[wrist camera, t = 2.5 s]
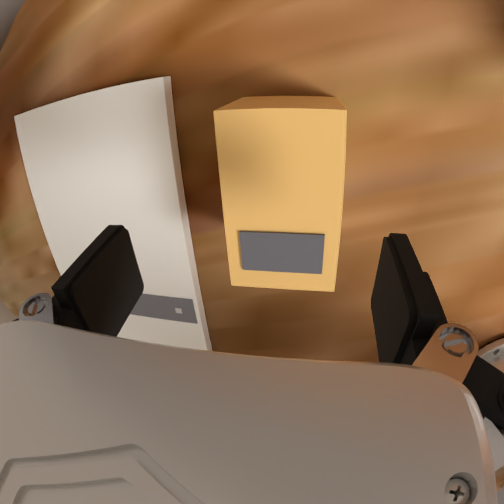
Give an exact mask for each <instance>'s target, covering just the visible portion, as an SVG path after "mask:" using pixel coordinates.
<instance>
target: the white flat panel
mask: <svg viewBox="0 0 504 504" xmlns="http://www.w3.org/2000/svg"><path fill="white" fill-rule="evenodd" d="M14 119H15V124H16V130H17V135H18V140H19V144H20V149H21V153H22V158H23V162H24V166H25V170H26V174H27V178H28V181H29V185H30V189H31V192H32V196H33V199H34V202H35V206H36V209H37V212H38V215H39V218H40V221H41V224H42V227H43V230H44V233H45V236H46V239H47V241H48V244H49V247H50V250H51V252H52V255H53V258H54V260H55V263H56V265H57V268H58V270H59V273H60V275H61V276H62V275H63V273H64V272H65V271H66V270H67V269H68V268H69V267H70V266H71V264H72V263H73V262H74V261H75V260H76V259H77V258H78V257H79V256H80V254H81V253H82V252H83V251H84V250H85V249H86V248H87V247H88V246H89V245H90V244H91V243H92V242H93V241H94V240H95V238H96V237H97V236H98V235H99V234H100V233H101V232H102V231H103V230H104V229H105V228H106V227H107V226H108V225H123V226H124V227H125V229H127V230H128V231H129V235H130V238H131V242H132V246H133V249H134V253H135V256H136V260H137V263H138V267H139V270H140V273H141V277H142V280H143V283H144V290H143V293H142V295H141V296H140V298H139V300H138V301H137V303H136V305H135V306H134V308H133V310H132V311H131V313H130V315H129V316H128V318H127V320H126V322H125V323H124V325H123V327H122V328H121V330H120V332H119V334H118V335H117V337H121V338H127V339H132V340H138V341H145V342H151V343H157V344H164V345H170V346H177V347H184V348H192V349H200V350H208V351H212V346H211V341H210V337H209V332H208V327H207V322H206V317H205V312H204V306H203V301H202V296H201V291H200V285H199V280H198V274H197V268H196V263H195V257H194V251H193V245H192V239H191V233H190V227H189V220H188V214H187V207H186V201H185V194H184V187H183V180H182V172H181V165H180V157H179V149H178V141H177V133H176V125H175V116H174V106H173V97H172V87H171V76H166V77H159V78H153V79H148V80H142V81H137V82H132V83H127V84H122V85H118V86H113V87H109V88H104V89H100V90H96V91H92V92H88V93H85V94H81V95H77V96H74V97H70V98H67V99H64V100H60V101H57V102H54V103H51V104H48V105H44V106H41V107H39V108H36V109H33V110H30V111H27V112H24V113H22V114H19V115H16V116H14Z"/></svg>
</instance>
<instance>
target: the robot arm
mask: <svg viewBox="0 0 504 504" xmlns="http://www.w3.org/2000/svg"><path fill="white" fill-rule="evenodd" d="M51 288H52V290H53V292H54V294H55V295H54V296H53V298H52V297H51V295H49V294H48V293H38V294H35V295H33V296H31V297H29V298H28V299H27V300H26V301H25V302H24V303H23V304H22V306H21V307H20V311H19V318H18V319H16V320H14V321H12V322H7V323H3V324H1V325H0V504H504V338H502V339H499V340H496V341H494V342H492V343H490V344H488V345H486V346H485V347H483V348H482V349H480V350H478V348H479V346H478V341H477V339H476V337H475V335H474V334H473V333H472V332H471V331H470V330H469V329H468V328H466V327H465V326H462V325H460V324H455V323H448V322H447V320H446V317H445V314H444V311H443V309H442V306H441V304H440V301H439V299H438V296H437V294H436V291H435V289H434V286H433V284H432V281H431V279H430V277H429V275H428V273H427V272H423V271H422V269H421V266H420V264H419V262H418V259H417V257H416V255H415V252H414V250H413V248H412V246H411V243H410V241H409V239H408V237H407V235H406V234H398V233H390V234H389V237H384V239H383V243H382V249H381V254H380V259H379V264H378V269H377V274H376V279H375V284H374V288H373V293H372V297H371V309H372V315H373V321H374V328H375V334H376V341H377V348H378V355H379V362H358V361H330V360H312V359H294V358H280V357H267V356H255V355H245V354H235V353H225V352H216V351H208V350H200V349H192V348H184V347H177V346H170V345H164V344H157V343H151V342H145V341H138V340H132V339H127V338H121V337H117V335H118V334H119V332H120V330H121V328H122V327H123V325H124V323H125V322H126V320H127V318H128V316H129V315H130V313H131V311H132V310H133V308H134V306H135V305H136V303H137V301H138V300H139V298H140V296H141V295H142V293H143V290H144V283H143V280H142V277H141V273H140V270H139V267H138V263H137V260H136V256H135V253H134V249H133V246H132V242H131V238H130V235H129V231H128V230H127V229H125V227H124V226H123V225H108V226H107V227H106V228H105V229H104V230H103V231H102V232H101V233H100V234H99V235H98V236H97V237H96V238H95V240H94V241H93V242H92V243H91V244H90V245H89V246H88V247H87V248H86V249H85V250H84V251H83V252H82V253H81V254H80V256H79V257H78V258H77V259H76V260H75V261H74V262H73V263H72V264H71V266H70V267H69V268H68V269H67V270H66V271H65V272H64V273H63V275H62V276H61V277H60V278H59V279H58V280H57V281H56V283H55V284H54V285H53V286H52V287H51ZM448 480H449V481H448Z"/></svg>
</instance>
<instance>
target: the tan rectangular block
mask: <svg viewBox="0 0 504 504" xmlns="http://www.w3.org/2000/svg"><path fill="white" fill-rule="evenodd" d="M213 112H214V124H215V135H216V145H217V156H218V166H219V177H220V187H221V196H222V206H223V215H224V225H225V234H226V243H227V252H228V261H229V270H230V278H231V285H232V286H246V287H261V288H276V289H293V290H311V291H331V292H334V289H335V280H336V272H337V263H338V253H339V243H340V232H341V220H342V207H343V192H344V175H345V154H346V118H347V110H346V109H345V107H344V106H343V105H342V104H341V103H340V101H339V100H338V99H337V98H336V97H324V96H252V97H242V98H240V99H238V100H235V101H233V102H231V103H229V104H227V105H224V106H222V107H220V108H218V109H216V110H214V111H213Z"/></svg>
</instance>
